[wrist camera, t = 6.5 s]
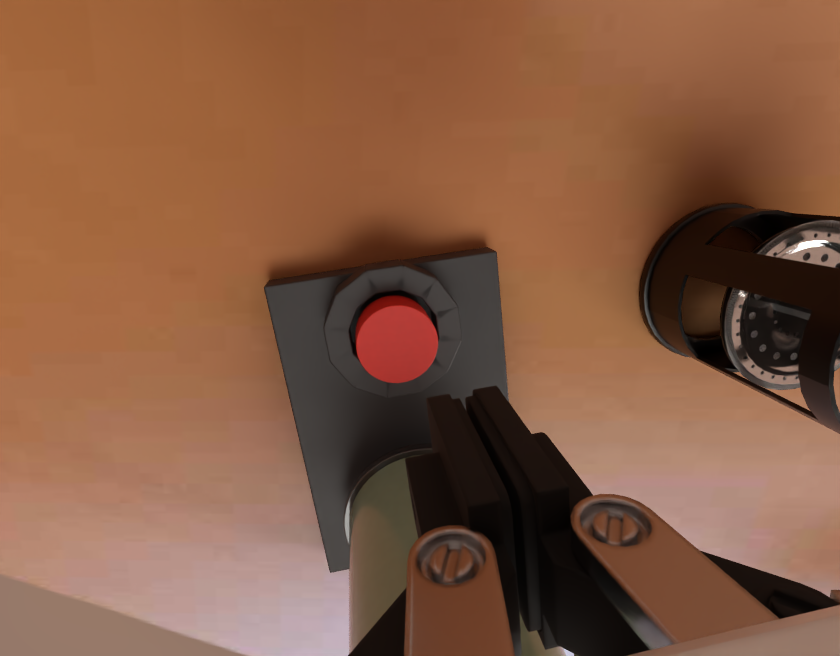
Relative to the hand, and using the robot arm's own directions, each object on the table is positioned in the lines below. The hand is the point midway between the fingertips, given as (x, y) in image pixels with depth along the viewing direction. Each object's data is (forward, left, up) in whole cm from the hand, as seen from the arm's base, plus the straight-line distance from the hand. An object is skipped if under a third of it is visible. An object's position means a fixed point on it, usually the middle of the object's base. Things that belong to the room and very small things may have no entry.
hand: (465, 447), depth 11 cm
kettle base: (+7, -1, -17) cm, 18 cm away
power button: (+1, -1, -13) cm, 13 cm away
